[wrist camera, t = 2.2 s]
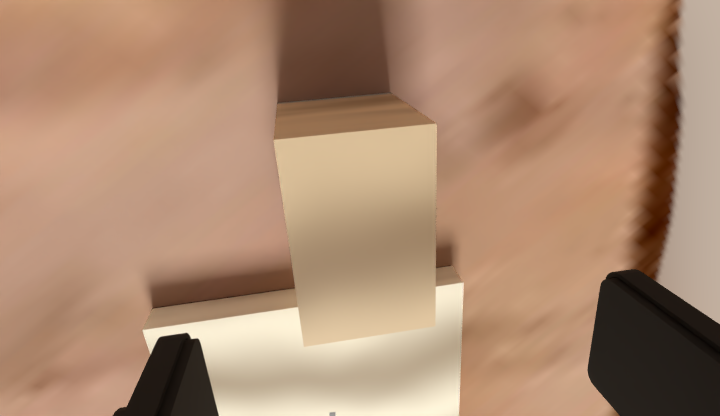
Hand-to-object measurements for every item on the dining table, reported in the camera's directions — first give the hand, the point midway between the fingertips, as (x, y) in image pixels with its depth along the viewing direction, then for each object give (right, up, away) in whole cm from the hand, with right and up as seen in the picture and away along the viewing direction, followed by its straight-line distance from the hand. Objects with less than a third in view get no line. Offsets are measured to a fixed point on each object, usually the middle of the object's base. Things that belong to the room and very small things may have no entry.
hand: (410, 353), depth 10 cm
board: (-3, -10, +14) cm, 17 cm away
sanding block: (-2, +5, +9) cm, 10 cm away
